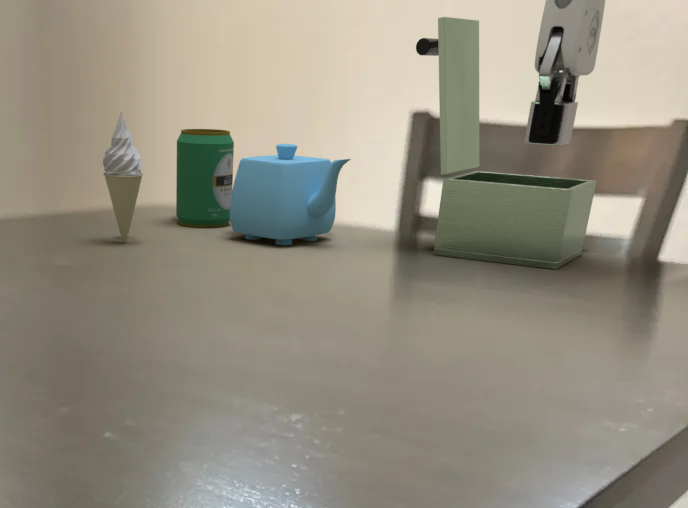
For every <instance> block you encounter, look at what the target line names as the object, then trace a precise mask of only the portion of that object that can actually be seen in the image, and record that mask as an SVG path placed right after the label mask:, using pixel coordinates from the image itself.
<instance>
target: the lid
mask: <svg viewBox="0 0 688 508" xmlns="http://www.w3.org/2000/svg"><path fill="white" fill-rule="evenodd" d="M415 51H416V53H417V54H418V55H419V56H429V57H430V56H431V57H433V56H435V57H437V56H438V93H439V94H438V95H439V96H438V97H439V99H438V101H439V151H440V152H439V153H440V155H439V156H440V175H441V176H444V175H445V176H446V175H450V174H454V173H458V172H462V171H467V170H471V169H475V168H480V20H476V19H467V18H460V17H459V18H458V17H451V16H441V17H438V18H437V38H431V37H430V38H429V37H422V38H420V39H418V41H417V42H416V45H415Z"/></svg>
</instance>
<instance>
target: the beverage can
mask: <svg viewBox="0 0 688 508" xmlns="http://www.w3.org/2000/svg"><path fill="white" fill-rule="evenodd" d="M234 147H235V141H234V139H233V138H232V136H231V131H230V130H225V129H216V128H215V129H214V128H213V129H212V128H184V129H180V134H179V136H178V138H177V139H176V187H175V188H176V189H175V190H176V202H175V203H176V205H175V206H176V208H175V209H176V210H175V211H176V212H175V215H176V218H177V219H178V221H179V224H180V225H181V226H185V227H192V228H204V229H205V228H208V229H209V228H222V227H223V228H224V227H227V226H228V225H229V222H230V216H229V215H230V202H231V195H232V190H233V184H234V182H233V181H234V180H233V179H234V177H233V176H234V151H235V149H234Z"/></svg>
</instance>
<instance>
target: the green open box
mask: <svg viewBox="0 0 688 508" xmlns="http://www.w3.org/2000/svg"><path fill="white" fill-rule="evenodd" d="M596 186H597V180H595V179H593V180H592V179H581V178H570V177H557V176H546V175H545V176H544V175H531V174H521V173H520V174H519V173H508V172H496V171H483V170H475V171H470V172H466V173H462V174H461V173H460V174H458V175H453V176H450V177H446V178H443V180H442V186H441V193H440V194H441V195H440V202H439V209H438V215H437V223H436V230H435V238H434V245H433V252H432V253H433V254H432V255H434V256H441V257H448V258H449V257H450V258H458V259H467V260H473V261H475V260H476V261H483V262H491V263H498V264H499V263H500V264H506V265H513V266H514V265H515V266H523V267H524V266H525V267H531V268H541V269H547V270H558V269H559V268H562V267H563V266H565V265H567V264H568V263H569V262H572V261H573V260H574V259H577V258H578V257H580V256H581V255H582V253H583V247H584V243H585V239H586V234H587V229H588V223H589V219H590V215H591V210H592V206H593V200H594V196H595V190H596Z"/></svg>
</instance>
